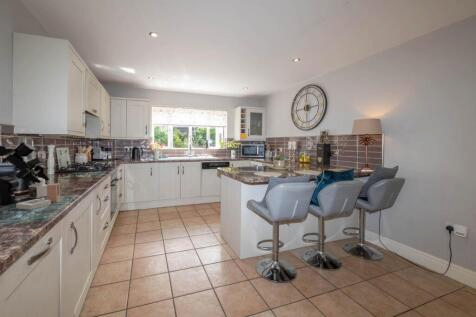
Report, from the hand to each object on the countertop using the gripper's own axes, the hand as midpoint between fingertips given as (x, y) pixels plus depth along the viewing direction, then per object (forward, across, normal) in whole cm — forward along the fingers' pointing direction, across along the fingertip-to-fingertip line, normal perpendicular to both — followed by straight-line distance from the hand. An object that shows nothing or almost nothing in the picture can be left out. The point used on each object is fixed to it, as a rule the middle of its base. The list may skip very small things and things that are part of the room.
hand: (44, 181), depth 131 cm
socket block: (+8, -10, +9) cm, 16 cm away
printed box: (+2, +15, +16) cm, 21 cm away
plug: (+11, 0, +6) cm, 13 cm away
